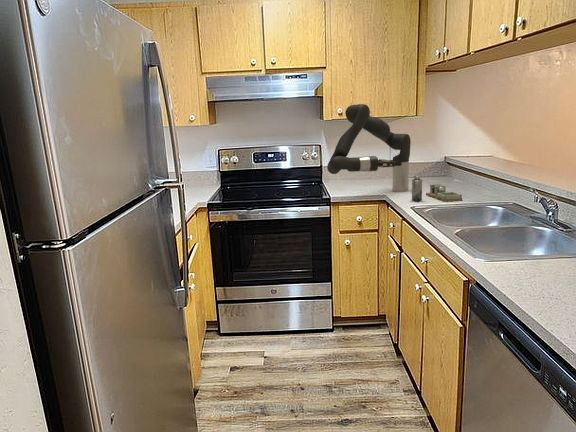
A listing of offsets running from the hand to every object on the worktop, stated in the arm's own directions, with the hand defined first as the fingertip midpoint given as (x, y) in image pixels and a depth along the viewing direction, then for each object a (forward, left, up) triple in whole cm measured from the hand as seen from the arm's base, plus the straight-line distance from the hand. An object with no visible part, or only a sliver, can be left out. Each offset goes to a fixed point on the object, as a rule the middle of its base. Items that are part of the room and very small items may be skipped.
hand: (398, 162), depth 227 cm
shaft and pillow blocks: (-10, +26, -19) cm, 34 cm away
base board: (-3, +26, -20) cm, 34 cm away
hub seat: (+3, +26, -19) cm, 33 cm away
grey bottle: (0, +10, -20) cm, 23 cm away
